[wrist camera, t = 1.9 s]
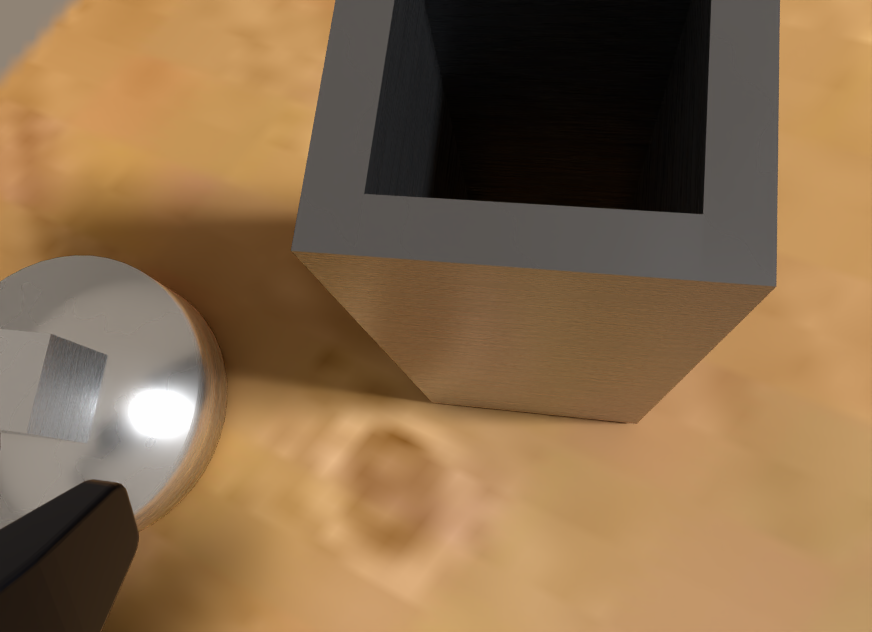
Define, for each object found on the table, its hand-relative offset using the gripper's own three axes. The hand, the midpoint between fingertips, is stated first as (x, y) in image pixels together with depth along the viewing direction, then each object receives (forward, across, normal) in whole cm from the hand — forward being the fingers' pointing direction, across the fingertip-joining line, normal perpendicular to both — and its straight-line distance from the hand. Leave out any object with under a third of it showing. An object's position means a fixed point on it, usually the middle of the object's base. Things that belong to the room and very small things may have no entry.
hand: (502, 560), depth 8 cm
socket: (+13, 0, +4) cm, 14 cm away
